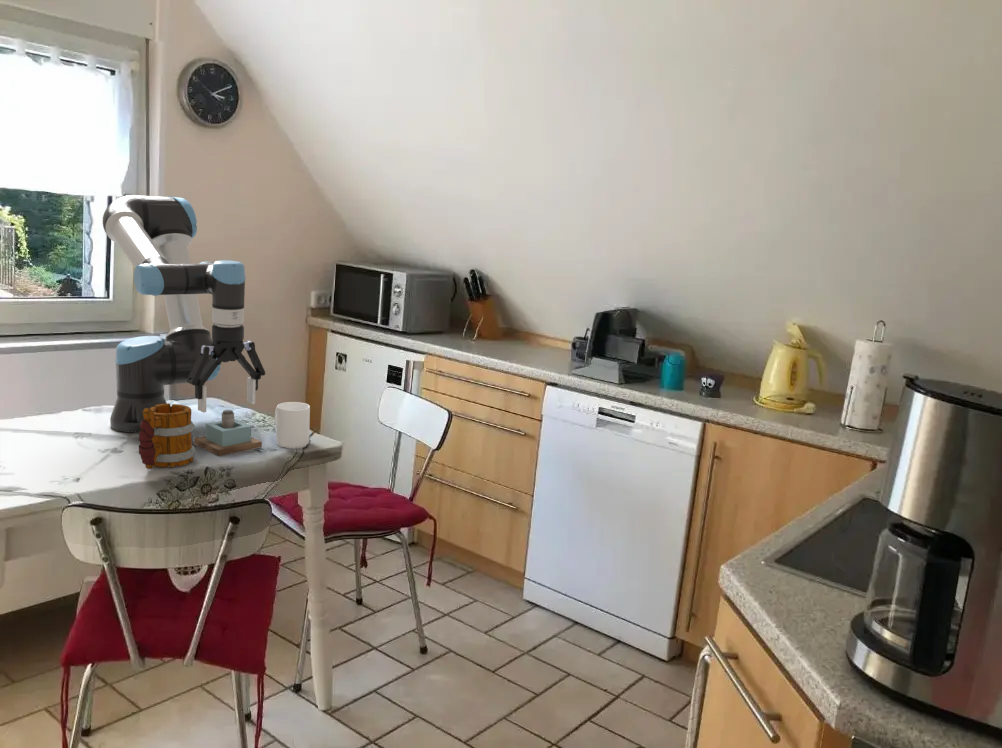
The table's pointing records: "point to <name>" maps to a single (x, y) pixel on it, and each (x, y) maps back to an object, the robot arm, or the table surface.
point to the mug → (166, 436)
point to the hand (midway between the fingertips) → (227, 407)
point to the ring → (228, 433)
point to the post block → (219, 450)
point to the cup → (292, 424)
